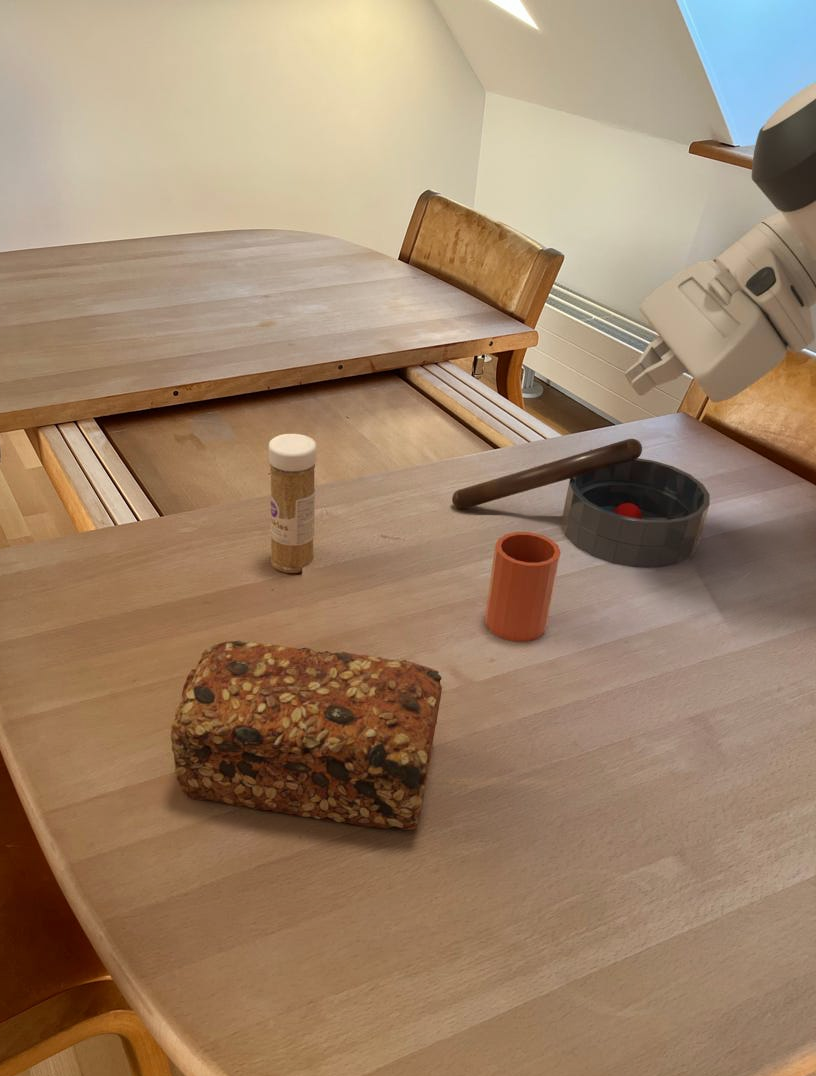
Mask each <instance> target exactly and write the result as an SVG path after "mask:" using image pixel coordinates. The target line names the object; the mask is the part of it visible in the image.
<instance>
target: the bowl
mask: <svg viewBox="0 0 816 1076" xmlns="http://www.w3.org/2000/svg"><path fill="white" fill-rule="evenodd" d="M710 496H711V494H710V493H709V490H708V489H707V488H706V487H705V485H704V484H703V483H702V482H701V481H700V480H698V479H697V478H696V477H694V476H693V475H692V474H690V473H689V472H686V471H684V470H682V469H680V468H677V467H676V466H673V465H670V464H667V463H663V462H659V461H657V460H654V459H653V460H652V459H645V458H639V457H638V458H637V459H635V460H632V461H629V462H625V463H622V464H618V465H615V466H611V467H608V468H604V469H601V470H598V471H594V472H591V473H587V474H584V475H580V476H577V477H573V478H570V479H569V481H568V485H567V492H566V497H565V503H564V507H563V514H562V518H561V522H560V523H561V524H560V526H561V529H562V531H563V534H564V537H566V538H567V539H568V541H570V542H571V543H572V544H573V546H575V547H576V548H577V549H579V550H581V551H582V552H584V553H586V554H587V555H589V556H591V557H594V558H596V559H599V560H602V561H605V562H608V563H610V564H614V565H620V566H626V567H629V568H630V567H631V568H644V569H645V568H648V569H650V568H651V569H652V568H656V569H657V568H663V567H669V566H675V565H677V564H680V563H682V562H684V561H685V560H688V559H690V558H691V557H692V556H693V554H694V553H695V552H696V551H697V550H698V547H699V546H698V545H699V543H700V539H701V536H702V532H703V530H704V526H705V523H706V519H707V515H708V512H709V508H710V505H711V503H710V502H711V500H710V499H711V497H710ZM624 503H632V504H634V505H636V506H637V507H638V508H639V509H640V511H641V514H642V519H638V518H632V517H626V516H622V515H619V514H616V513H614V511H615V509H616V508H617V507H618V506H619V505H621V504H624ZM644 518H647V519H644ZM649 518H650V519H649Z"/></svg>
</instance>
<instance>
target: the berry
mask: <svg viewBox="0 0 816 1076" xmlns="http://www.w3.org/2000/svg"><path fill="white" fill-rule="evenodd" d="M614 513H616V514H619V515H622V516H626V517H632V518H638V519H643V518H642V514H641V511H640V509H639V508H638V507H637V506H636V505H634V504H632V503H624V504H621V505H619V506H618V507H617V508H616V509H615V511H614Z"/></svg>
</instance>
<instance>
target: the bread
mask: <svg viewBox="0 0 816 1076" xmlns="http://www.w3.org/2000/svg"><path fill="white" fill-rule="evenodd" d="M442 678H443V677H442V675H440V674H439V671H438V670H437V669H434V668H431V667H428V666H425V665H422V664H420V663H416V662H414V661H408V660H406V659H389V658H383V657H382V656H372V655H368V654H363V655H361V654H356V653H351V652H346V651H337V652H331V651H328V650H325V651H321V650H315V649H313V648H308V647H301V648H297V647H291V646H287V645H280V644H273V643H259V642H252V641H251V642H250V641H244V640H243V641H242V640H225V641H220V642H216V643H215V644H213V645H212V646H210V647H208V648H206V649H205V650H204V651H203V652H202V653H201V658H200V659H199V661H198V663H197V665H196V666H195V668H192V669H190V672H189V673H188V674H187V676H186V680H185V682H184V684H183V687H182V692H181V698H180V701H179V706H177V707H175V712H174V716H175V717H174V720H173V722H172V724H171V730H170V739H171V751H172V753H173V761H174V766H175V767H174V768H175V769H174V771H175V774H176V780H177V782H178V784H179V785H180V788H181V792H182V793H183V794H184V795H185V796H187V797H188V798H190V799H192V800H200V801H204V800H210V801H214V802H221V803H225V804H228V805H231V806H246V807H247V808H251V809H255V810H259V811H269V810H271V811H272V812H274V813H277V812H278V813H279V812H281V813H284V814H287V815H296V816H298V817H307V818H309V817H311V818H313V819H316V820H320V819H321V820H322V819H325V818H329V819H332V820H334V821H335V822H336V823H345V824H352V825H356V826H361V827H375V828H380V829H389V828H393V827H396V828H400V829H401V830H404V831H406V830H407V831H408V830H414V829H417V827H418V823H419V821H420V817H421V811H422V806H423V801H424V797H425V793H426V789H427V788H426V787H427V783H428V776H429V771H430V764H431V759H432V749H433V744H434V738H435V733H436V726H437V723H438V715H439V711H440V703H441V699H442V690H443V687H442V686H443V685H441V680H442Z"/></svg>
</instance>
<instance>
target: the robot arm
mask: <svg viewBox="0 0 816 1076" xmlns="http://www.w3.org/2000/svg"><path fill="white" fill-rule="evenodd" d="M753 150H754V151H753V157H752V164H751V180H752V181H753V183H754V184H755V185H756V186H757V187H758V188H759V190H760V191H762V192H761V193H763V194H764V196H766V198H767V199H768V201H770V203H771V204H772V205H773V206H774V207H775V209H776V210H777V211H779V212H776V213H775V214H772V215H770V216H768V217H766V218H764V219H763V220H761V221H760V222H759V223H758V224H757V225H755V226H754V227H753V228H752V229H750V230H749V231H747V233H745V234H744V235H742V237H741V238H739V239H738V240H737V241H736V242H735V243H733V244H732V245H731V246H729V247H728V248H727V249H726V250H725V251H723V252H722V253H720V254H719V255H718V256H717V257H716V258H715V259H709V260H707V261H704V260H702V261H697V262H694V263H693V264H691V265H689V266H687V267H686V268H684V269H682V270H681V271H680V272H678V273H677V274H675V275H674V276H673V277H671V278H670V279H668V280H667V281H666V282H664V283H663V284H661V285H660V286H659V287H658V288H656V289H655V290H654V291H652V292H651V293H650V294H648V296H646V297H645V298H644V299H643V301H642V303H641V304H640V306H639V311H640V313H641V315H642V316H643V317H644V319H645V320H646V321H647V323H648V324H649V325H650V327H651V328H652V329H653V330H654V332H655V333H656V334H657V335H658V336H657V337H656V338H655V339H654V340H652V341H651V342H650V343H648V345H647V347H646V348H645V350H644V351H643V353H642V354H641V355H640V357H639V358H638V360H637V361H636V362H635V363H634V364H632V365H631V366H630V367H629V368H628V369H626V370H625V371H624V377H625V378H626V380H627V381H628V382H629V385H630V386H631V388H632V389H633V390H634V391H635V392H636V393H637V395H638V396H645V395H646V394H648V392H650V391H651V390H652V389H654V388H655V387H657V386H660V385H662V384H663V385H664V384H665V383H668V382H671V381H674V380H677V379H678V378H679V377H681V376H682V375H683V374H685V373H686V372H687V373H688V374H689V376H690V377H691V378H692V379H693V380H694V381H695V383H697V385H698V386H699V388H700V389H701V390H702V391H703V393H704V394H705V395H706V397H707V398H708V399H709V400H710V402H712V403H714V404H715V403H716V404H717V403H721V402H724V401H728V400H730V399H732V398H734V397H736V396H738V395H739V394H740V393H742V392H744V390H746V389H748V388H749V387H751V386H752V385H753V384H755V383H757V382H758V381H759V380H760V379H762V378H763V377H765V376H766V375H767V374H769V373H770V372H771V371H772V370H774V369H775V368H777V366H778V365H780V364H781V363H782V361H784V359H785V357H786V356H787V354H788V351H789V352H791V353H793V354H797V353H800V352H801V351H803V350H804V349H806V348H807V347H809V345H811V344H812V343H813V342H814V341H815V339H816V333H815V328H814V323H813V319H812V311H811V309H810V308H812V307H813V306H814V305H816V81H815V82H813V83H812V84H810V85H807V86H806V87H804V88H803V89H801V90H800V91H799V92H797V93H796V94H794V95H793V96H791V97H790V98H789V99H788V100H786V101H785V102H784V103H783V104H782V105H780V106H779V107H778V108H777V109H776V110H775V111H774V113H773V114H772V115H771V116H770V117H769V118H768V120H767V121H766V122H765V124H764V125H763V126H762V127H761V128H760V129H759V131H758V134H757V138H756V141H755V146H754V149H753Z"/></svg>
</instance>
